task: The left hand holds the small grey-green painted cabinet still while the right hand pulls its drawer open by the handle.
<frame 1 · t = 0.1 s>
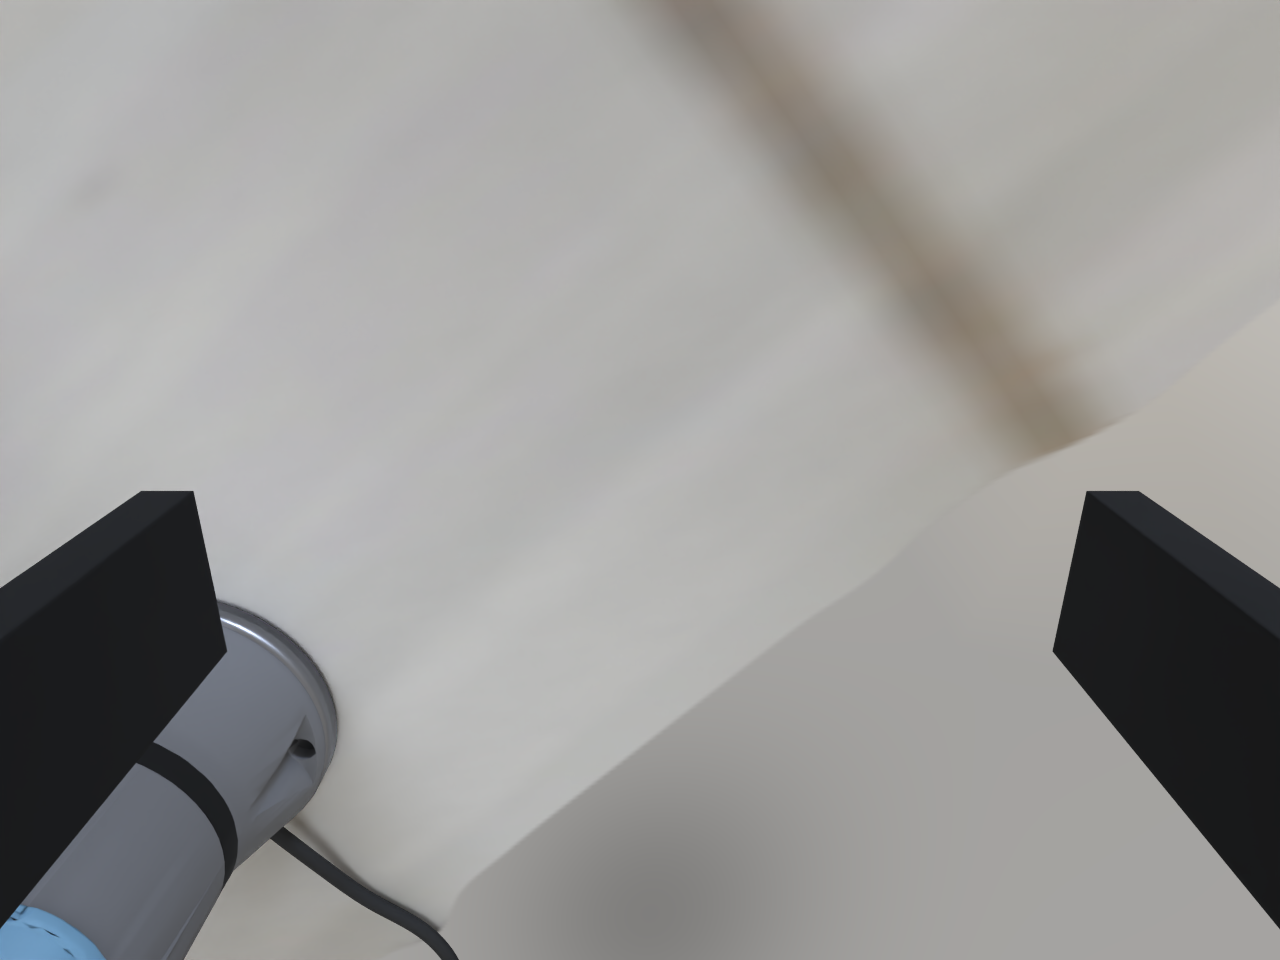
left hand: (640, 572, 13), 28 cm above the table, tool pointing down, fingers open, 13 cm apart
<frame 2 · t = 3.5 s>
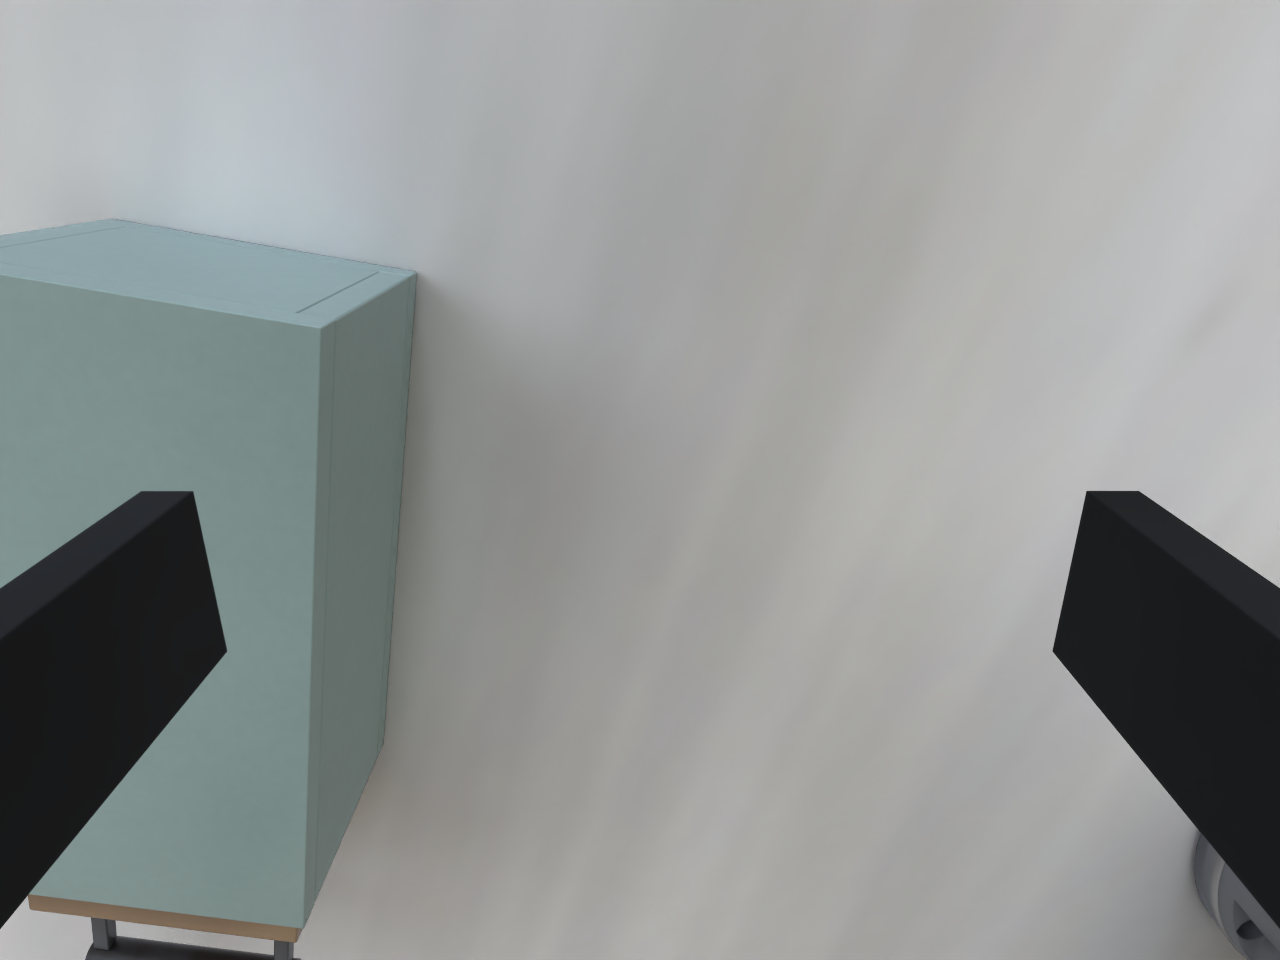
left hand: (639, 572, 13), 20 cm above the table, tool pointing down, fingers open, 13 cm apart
drawer: (210, 700, 31), point 5 cm above the table, slide at 0.9 cm
cabinet: (264, 514, 34), on the table
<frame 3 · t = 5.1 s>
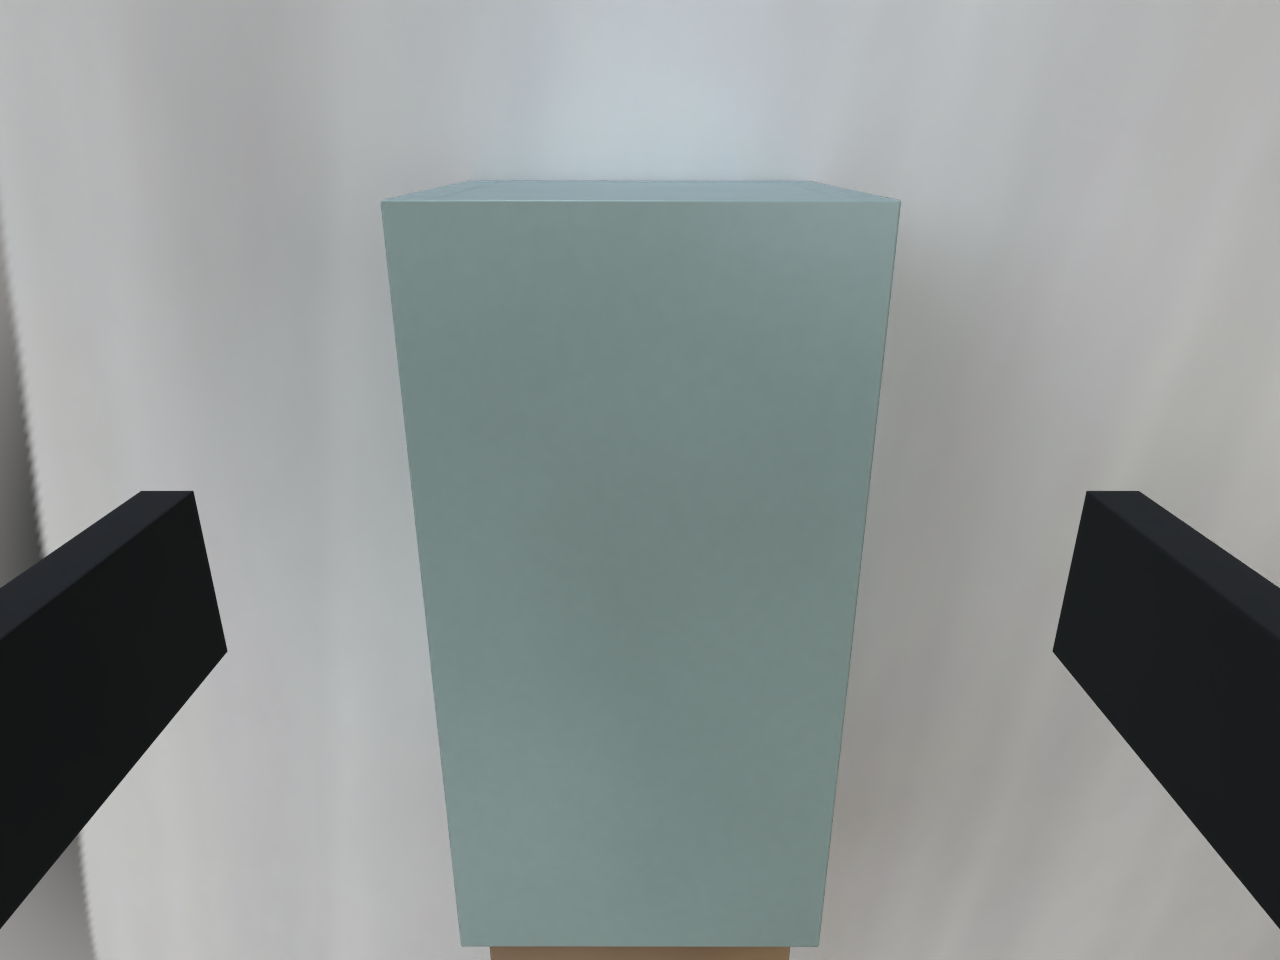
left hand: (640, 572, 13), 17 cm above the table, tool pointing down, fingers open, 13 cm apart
drawer: (640, 705, 28), point 5 cm above the table, slide at 0.9 cm
cabinet: (640, 495, 30), on the table
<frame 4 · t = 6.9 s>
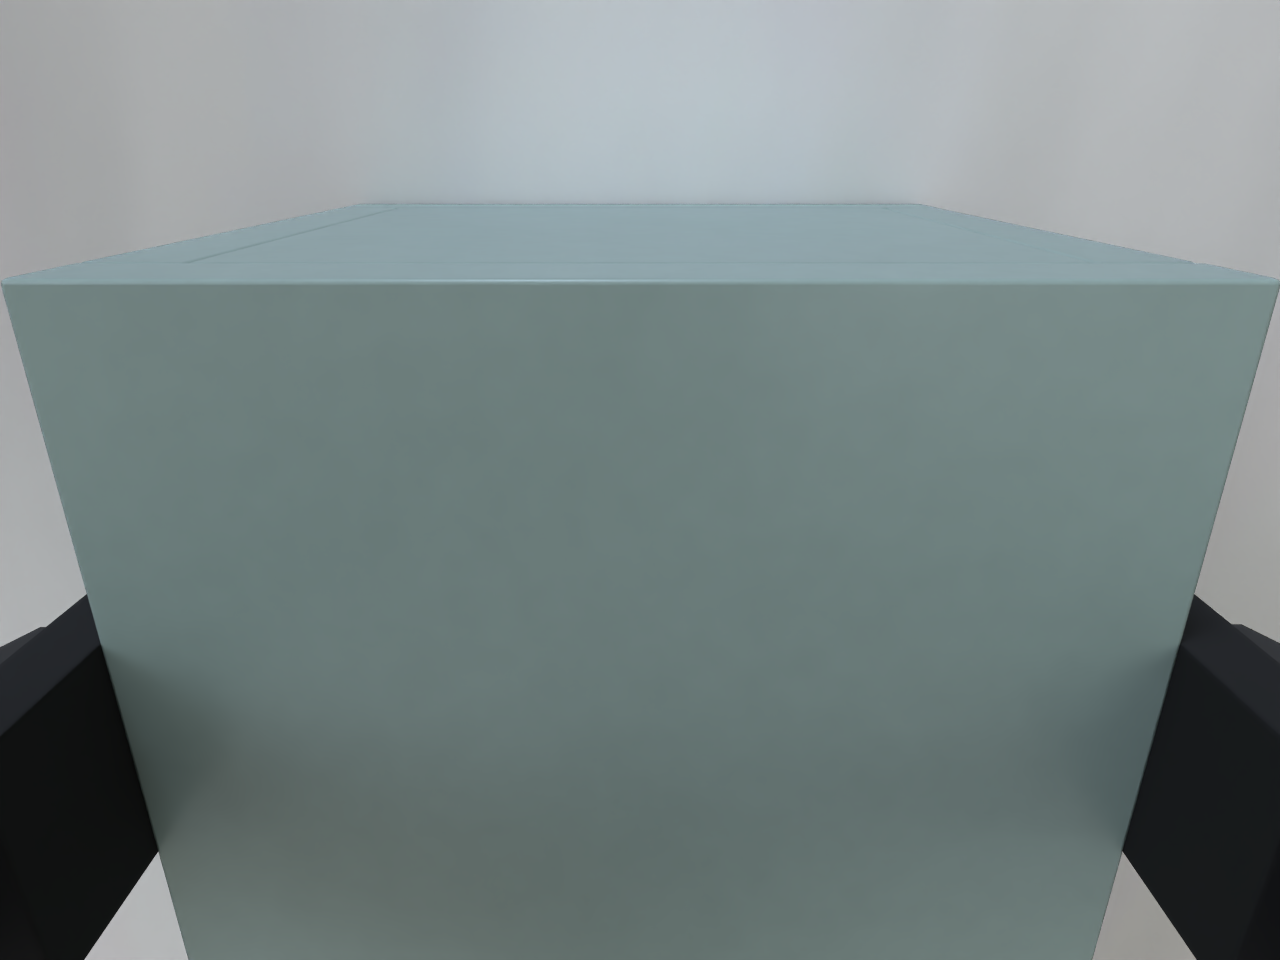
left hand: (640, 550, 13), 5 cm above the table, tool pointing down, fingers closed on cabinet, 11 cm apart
cabinet: (639, 675, 20), on the table, touching left hand
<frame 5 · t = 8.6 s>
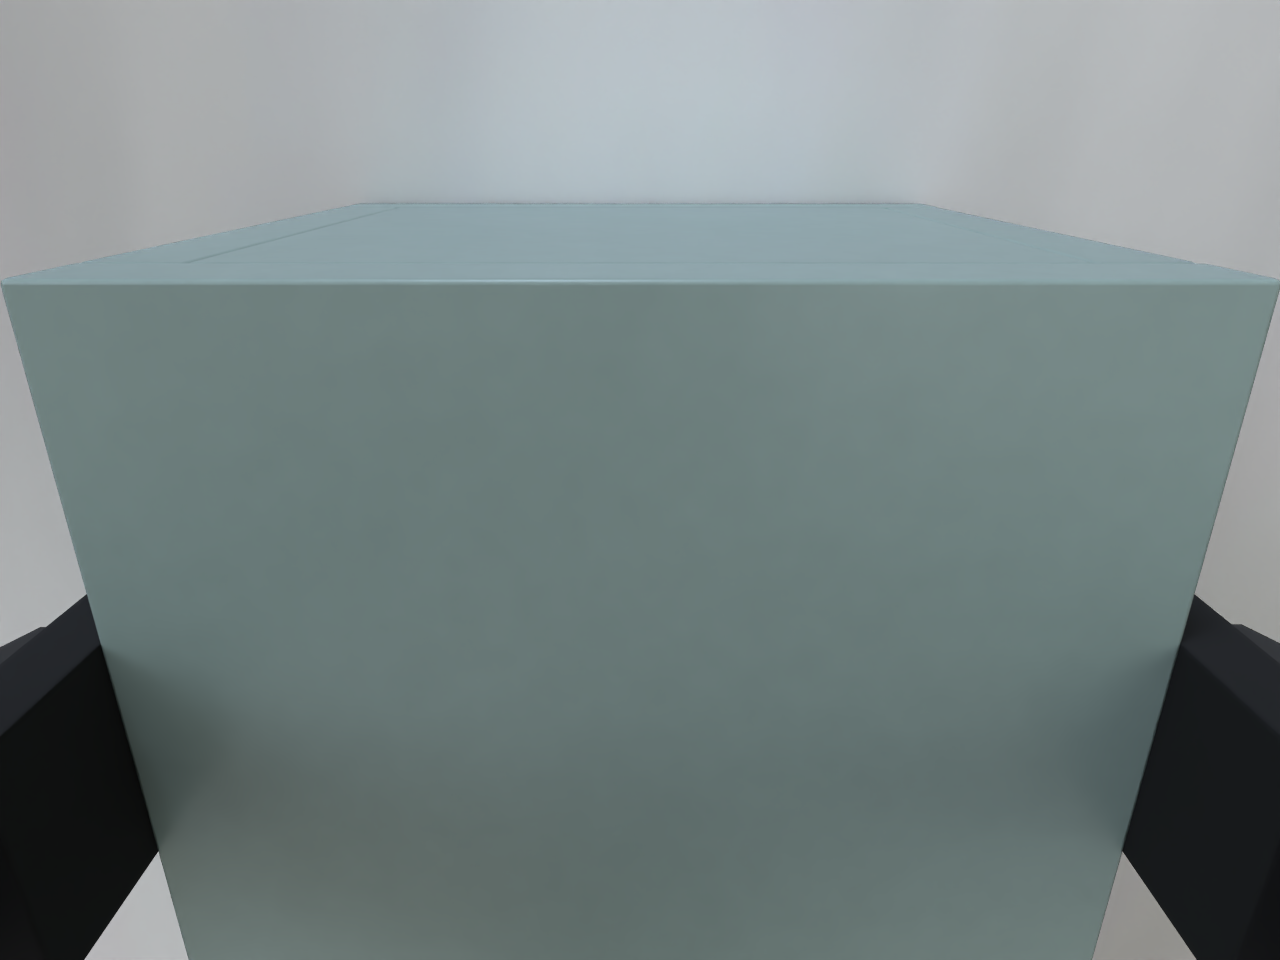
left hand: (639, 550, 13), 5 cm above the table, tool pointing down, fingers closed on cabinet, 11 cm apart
cabinet: (640, 675, 20), on the table, touching left hand
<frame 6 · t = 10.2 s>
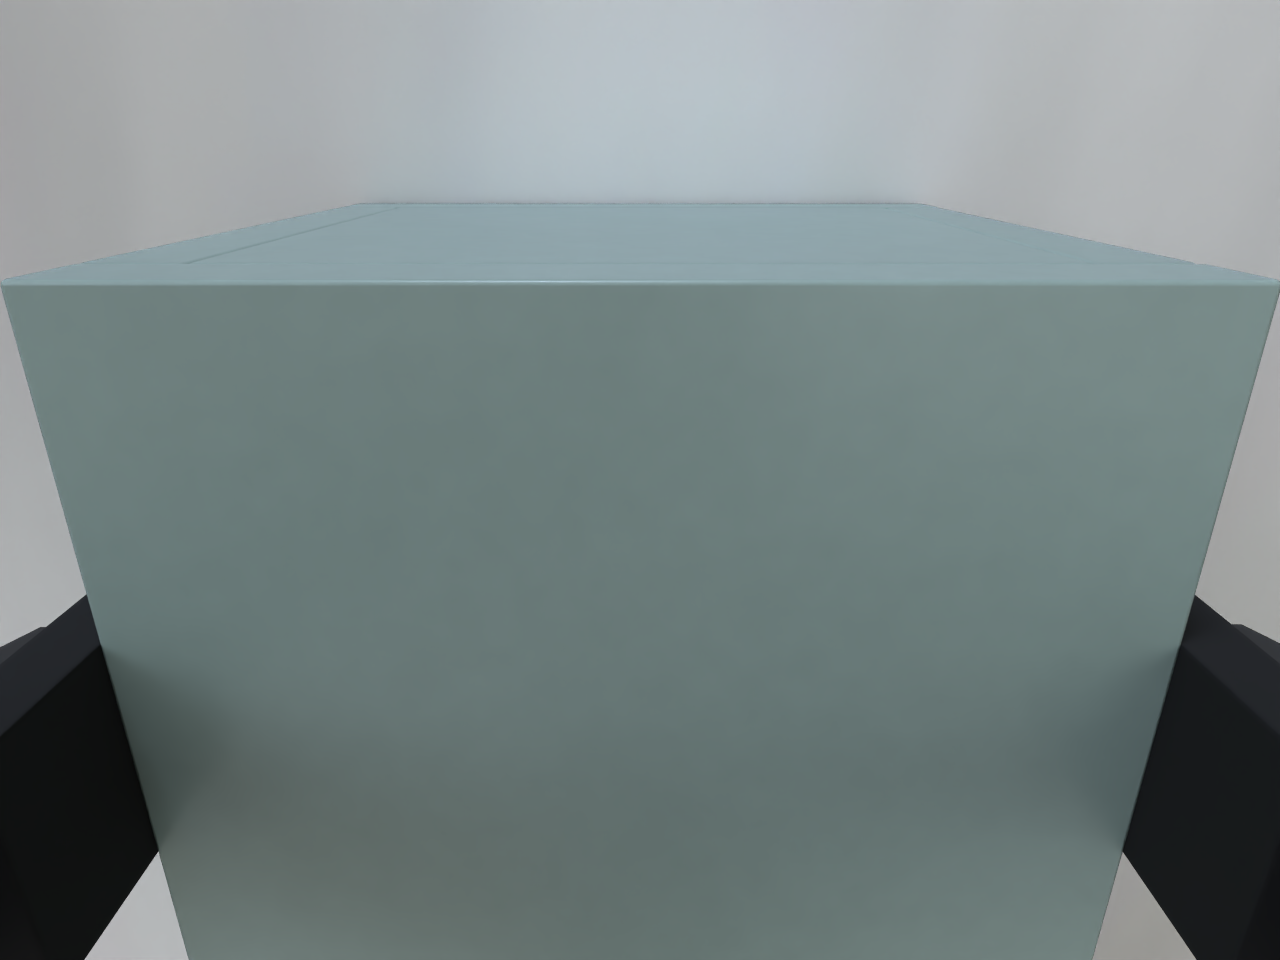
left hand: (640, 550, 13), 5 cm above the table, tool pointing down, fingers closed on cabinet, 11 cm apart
cabinet: (640, 675, 20), on the table, touching left hand
when the left hand's fingers open (5 cm above the table, at t = 11.9 s): cabinet stays where it is, on the table.
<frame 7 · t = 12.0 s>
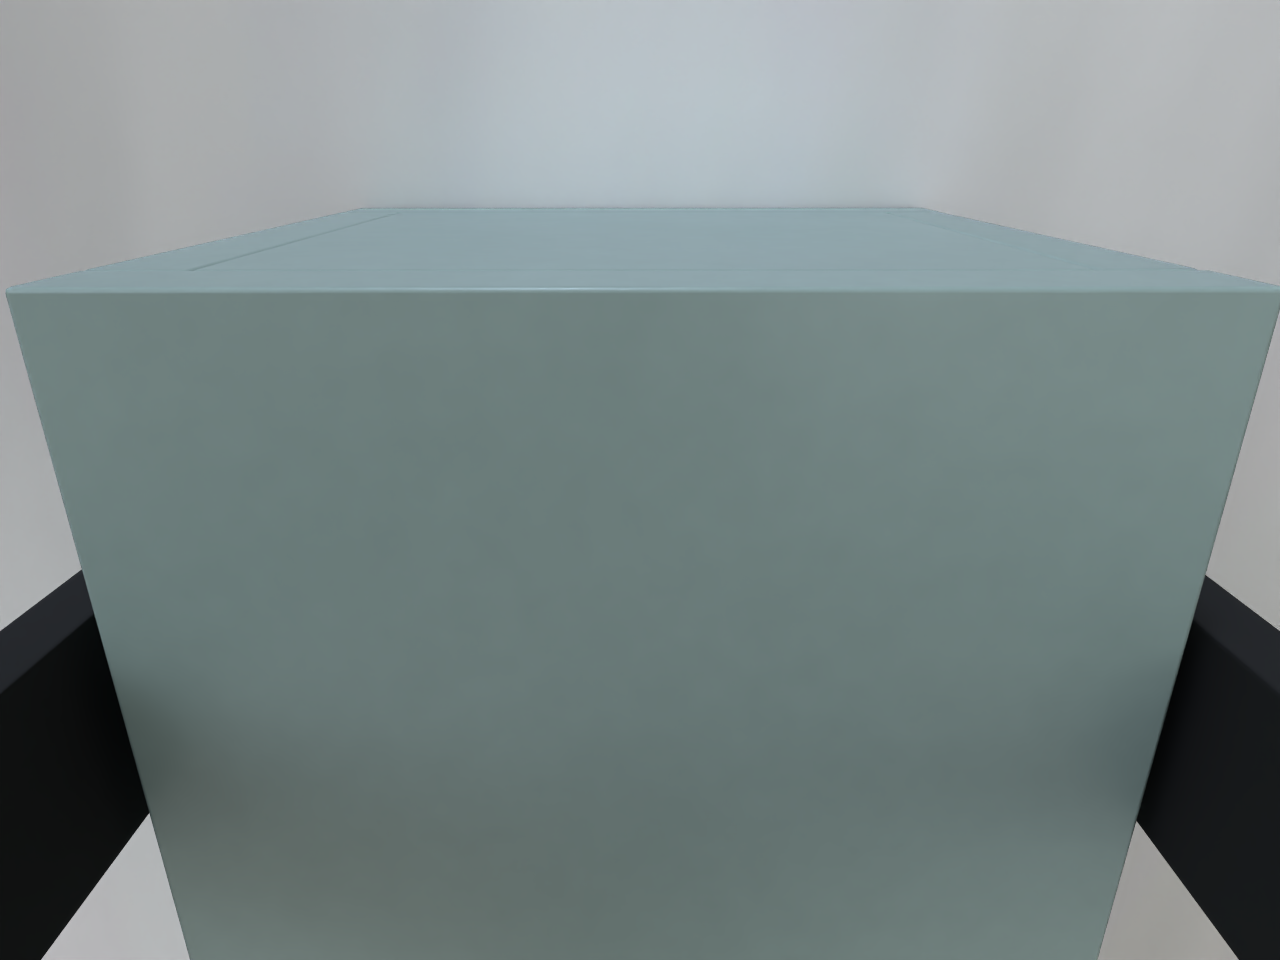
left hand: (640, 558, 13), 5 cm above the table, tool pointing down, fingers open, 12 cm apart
cabinet: (641, 679, 20), on the table
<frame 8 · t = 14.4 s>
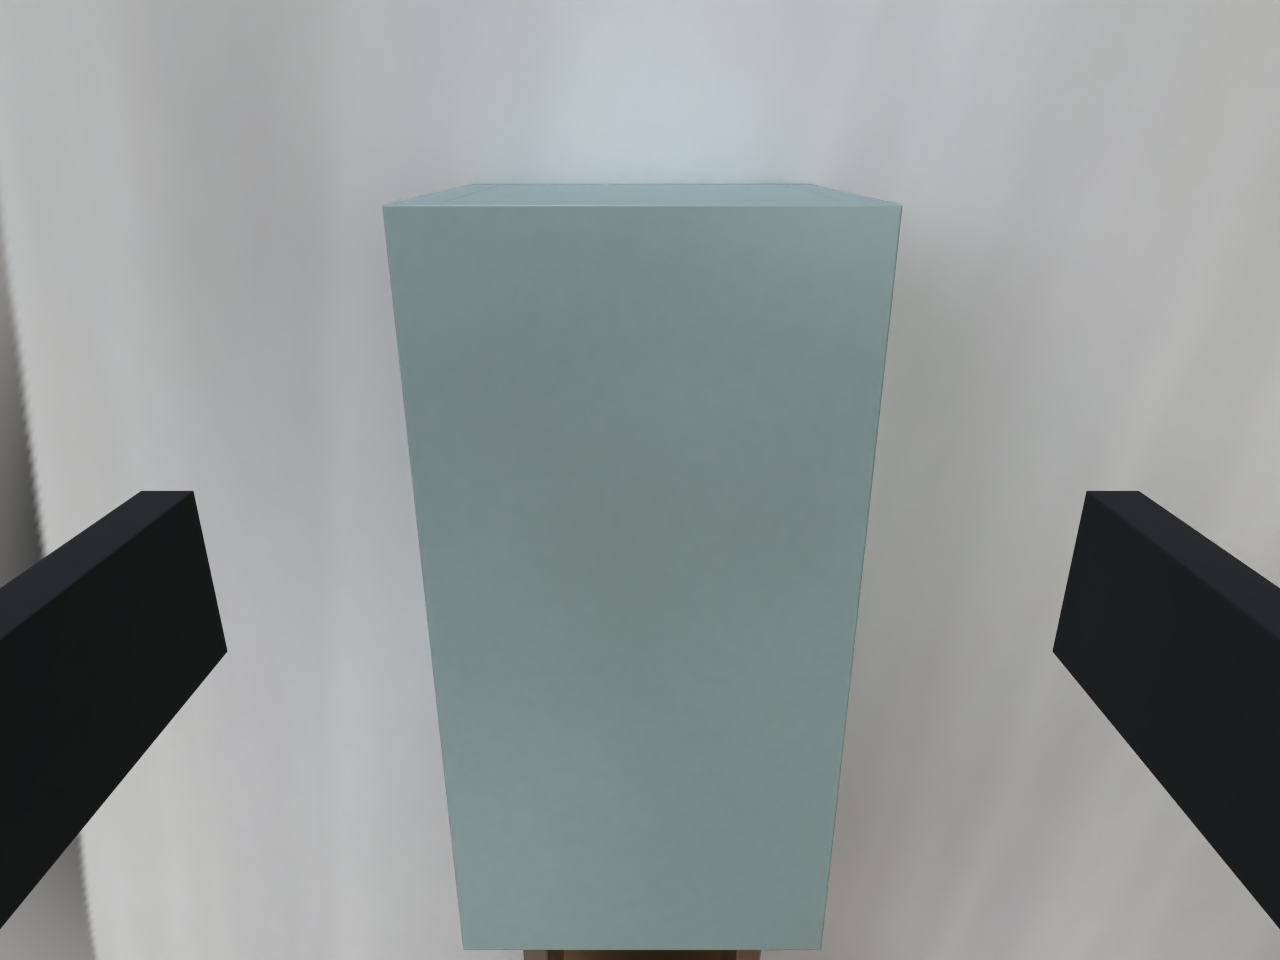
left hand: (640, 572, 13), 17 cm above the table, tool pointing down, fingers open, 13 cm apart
drawer: (641, 881, 31), point 5 cm above the table, slide at 8.5 cm
cabinet: (641, 498, 30), on the table
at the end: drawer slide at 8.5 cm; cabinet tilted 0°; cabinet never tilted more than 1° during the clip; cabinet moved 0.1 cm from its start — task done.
